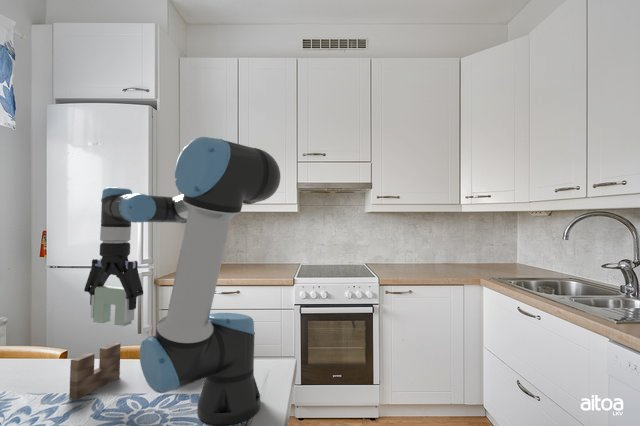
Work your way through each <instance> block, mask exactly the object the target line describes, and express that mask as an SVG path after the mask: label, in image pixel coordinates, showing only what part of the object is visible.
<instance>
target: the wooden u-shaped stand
mask: <svg viewBox="0 0 640 426" xmlns="http://www.w3.org/2000/svg"><path fill="white" fill-rule="evenodd" d="M121 345H122V344H121V342H112V343H110V344H107V345H105V346H102V347H100V348H99V363H98V368H95V353H90V352H87V353H85V354H82V355H79V356H77V357H75V358H71V359H70V364H69V365H70V367H69V368H70V369H69V370H70V371H69V396H68V397H69V399H71V400H78V399H80V398H82V397H84V396H86V395H89V394H90V393H92V392H93V391H96V390H98V389H99V388H102V387H103V386H105V385H107V384H109V383H111V382H113V381H115V380H118V379H119V378H121V377H120V374H121V370H120V369H121Z"/></svg>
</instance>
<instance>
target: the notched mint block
mask: <svg viewBox="0 0 640 426" xmlns="http://www.w3.org/2000/svg"><path fill="white" fill-rule="evenodd" d="M131 293H132V292H131ZM127 297H128V296H127V294H126V292H125V290H124V288H123V286H111V285H103V286H99V287H96V288H95V294H94V317H93V318H92V319H93V320H92V322H93V323H97V324H105V323H108V322H111V315H112V313H111V311H112V310H111V308H112V306H114V325H115V326H122V327H126V326H129V325H131V324H133V323H132V321H133V320H132V321H129V322H124V313H125V299H126V298H127Z"/></svg>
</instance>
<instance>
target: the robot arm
mask: <svg viewBox="0 0 640 426" xmlns="http://www.w3.org/2000/svg"><path fill="white" fill-rule="evenodd" d="M174 169H175V170H174V178H175V183H174V184H175V187H176V188H177V190H178V191H179V193H180V194H179V195H177V196H163V195H148V194H145V193H137V192H135V193H134V192H133V191H132V190H131V189H129V188H126V187H125V188H124V187H104V188H103V190H102V195H101V199H100V201H101V208H100V209H101V210H100V212H101V213H100V214H101V215H100V219H101V220H100V232H99V234H100V236H99V240H100V241H101V243H100V244H99V256H101V258H93V259H92V261H91V268H90V271H89V274H88V277H87V280H86V283H85V285H84V293H88V294H89V299H90V300H89V305H90V319H93V317H94V294H95V288H96V287H99V286H105V284H106V282H107V280H108V279H109V277H110V276H112V275H113V276H116V278H118V279H119V281H120V283H121V285H122V286H121V287H123V288H124V290H125V292H126V294H127V296H128V297H127V298H126V299H125V313H124V322H129V321H134V320H135V310H136V308H137V298H138V297H140V296H143V295H144V290H143V286H142V282H141V278H140V274H139V270H138V261H137V260H133V261H129V259H128V258H129V255H130V254H131V243H130V242H129V241H131V234H132V223H176V224H177V223H178V224H179V223H180V224H185V225H184V230H183V231H184V232H183V237H182V241H181V246H180V251H179V255H178V259H177V266H176V270H175V275H174V280H173V284H172V289H171V294H170V299H169V304H168V309H167V314H166V315H165V316H163V317H162V318H161V319H159V320H158V321H157V325H156V329H155V334H154V335H152V336H151V335H150V336H148V337H146V338H145V339H144V340H142V342H141V344H140V347H139V364H140V366H141V371H142V375H143V376H144V378H145V381H146V383H147V385H148V386H149V387H150V388H151V389H152V390H153V391H154V392H155V393H158V394H166V393H168V392H171V391H177V390H179V389H180V388H183V387H186V386H188V385H190V384H193V383H195V382H198V381H200V380H203V379H205V380H204V383H203V387H202V389H201V392H200V396H199V399H198V401H197V412H196V413H197V417H198V418H199V419H200V420H201V421H202V422H204V423H206V424H208V425H215V426H226V425H228V426H229V425H234V424H239V423H242V422H244V421H247V420H249V419H251V418H253V417H254V416H255V415H256V414H257V413H258V412H259V410H260V408H261V394H260V391H259V388H258V384H257V380H256V379H255V375H254V374H255V373H254V371H255V370H254V369H255V367H254V366H255V364H254V363H255V335H256V332H255V322H254V319H253V318H252V317H251V316H250V315H246V314H242V313H236V312H235V313H234V312H214V313H211V311H212V306H213V302H214V298H215V293H216V288H217V285H218V279H219V276H220V271H221V267H222V266H221V265H222V261H223V258H224V253H225V249H226V244H227V239H228V237H229V236H228V235H229V231H230V227H231V222H232V219H234V217H237V216H238V215H239V214H241V212H242V208H243V204H244V205H253V204H255V203H259V202H262V201H266V200H268V199H270V198H271V197H272V196H273V195H274V194H275V193H276V192H277V190H278V189H279V186H280V183H281V177H282V176H281V170H280V166H279V164H278V162H277V161H276V159H275V158H274V157H273V156H272V155H271V154H270V153H268V152H267V151H265V150H263V149H260V148H256V147H251V146H247V145H244V144H239V143H236V142H232V141H228V140H224V139H223V138H215V137H209V136H200V137H196V138H194V139H192V140H191V141H190V142H189V143H188V144H186V145H185V146H184V147H183V149H182V151H180V153H179V156H178V158H177V162H176V163H175V168H174ZM131 292H132V293H131Z"/></svg>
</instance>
